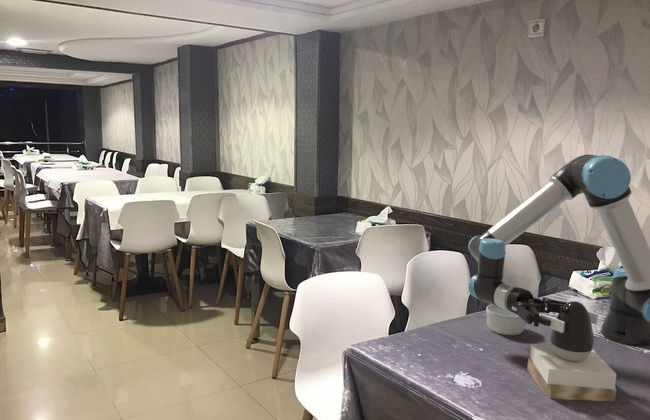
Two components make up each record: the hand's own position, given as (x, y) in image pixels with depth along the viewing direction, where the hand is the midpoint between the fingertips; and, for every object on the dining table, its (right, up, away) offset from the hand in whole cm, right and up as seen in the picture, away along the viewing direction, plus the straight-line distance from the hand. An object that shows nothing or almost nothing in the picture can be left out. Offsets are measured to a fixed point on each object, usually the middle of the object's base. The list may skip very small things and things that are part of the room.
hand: (580, 323), depth 134 cm
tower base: (-1, -18, +4) cm, 18 cm away
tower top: (-1, -14, +4) cm, 14 cm away
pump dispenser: (-1, -10, +4) cm, 11 cm away
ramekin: (-5, -12, +43) cm, 45 cm away
